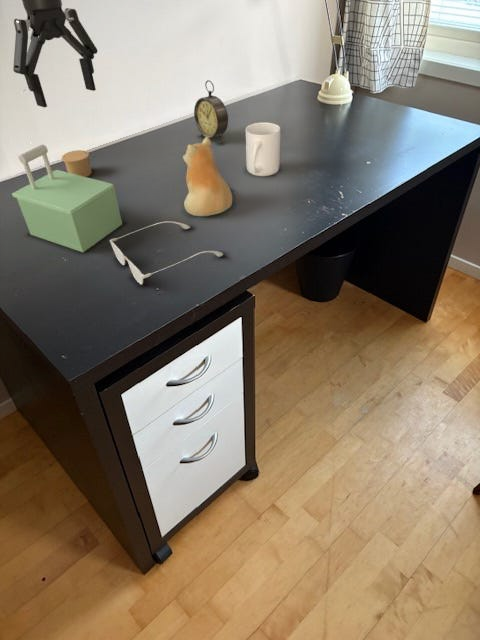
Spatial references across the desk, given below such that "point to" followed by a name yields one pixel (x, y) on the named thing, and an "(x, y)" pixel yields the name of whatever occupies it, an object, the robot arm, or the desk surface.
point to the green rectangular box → (74, 222)
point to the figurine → (204, 182)
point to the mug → (263, 148)
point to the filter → (77, 163)
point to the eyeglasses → (134, 269)
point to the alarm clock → (211, 116)
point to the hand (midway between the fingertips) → (67, 97)
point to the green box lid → (59, 186)
